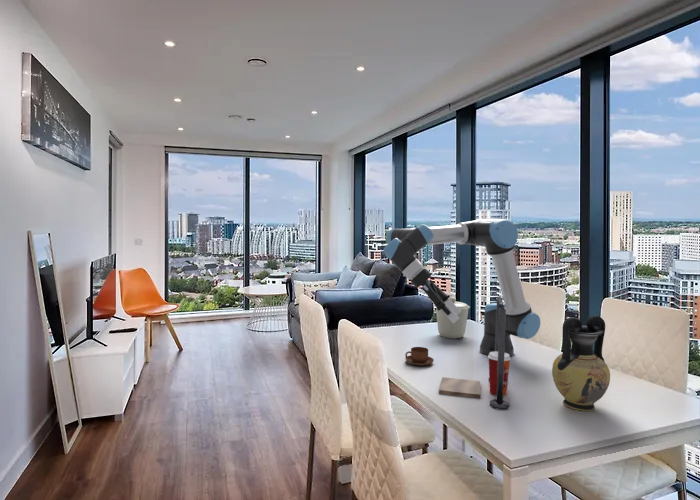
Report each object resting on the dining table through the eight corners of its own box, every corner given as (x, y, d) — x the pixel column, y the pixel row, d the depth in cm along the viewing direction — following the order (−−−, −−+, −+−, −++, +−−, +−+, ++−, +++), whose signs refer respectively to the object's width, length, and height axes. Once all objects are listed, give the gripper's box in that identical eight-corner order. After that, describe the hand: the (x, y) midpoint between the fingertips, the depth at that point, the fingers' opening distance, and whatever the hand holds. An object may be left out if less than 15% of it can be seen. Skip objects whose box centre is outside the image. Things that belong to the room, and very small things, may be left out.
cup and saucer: (416, 369, 185) (416, 354, 185) (399, 361, 196) (400, 347, 196) (439, 365, 191) (439, 351, 191) (422, 357, 202) (422, 344, 201)
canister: (432, 338, 235) (433, 298, 233) (436, 331, 252) (437, 293, 251) (468, 342, 229) (469, 300, 228) (469, 333, 247) (470, 295, 245)
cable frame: (488, 378, 175) (491, 294, 173) (504, 379, 174) (507, 295, 172) (490, 408, 146) (493, 308, 145) (509, 410, 145) (513, 309, 143)
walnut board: (480, 384, 168) (480, 381, 168) (480, 398, 155) (480, 394, 155) (442, 380, 172) (442, 377, 172) (438, 393, 159) (438, 390, 159)
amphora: (582, 420, 138) (586, 323, 136) (539, 400, 154) (542, 313, 152) (621, 411, 145) (625, 319, 143) (576, 393, 161) (579, 309, 159)
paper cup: (511, 398, 155) (512, 357, 155) (487, 395, 157) (489, 356, 156) (507, 389, 163) (509, 351, 162) (485, 388, 165) (486, 350, 164)
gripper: (414, 277, 180) (451, 317, 177) (404, 284, 156) (447, 331, 153) (428, 264, 179) (466, 304, 175) (420, 270, 155) (463, 317, 151)
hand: (457, 317), depth 164 cm, fingers open, 13 cm apart
